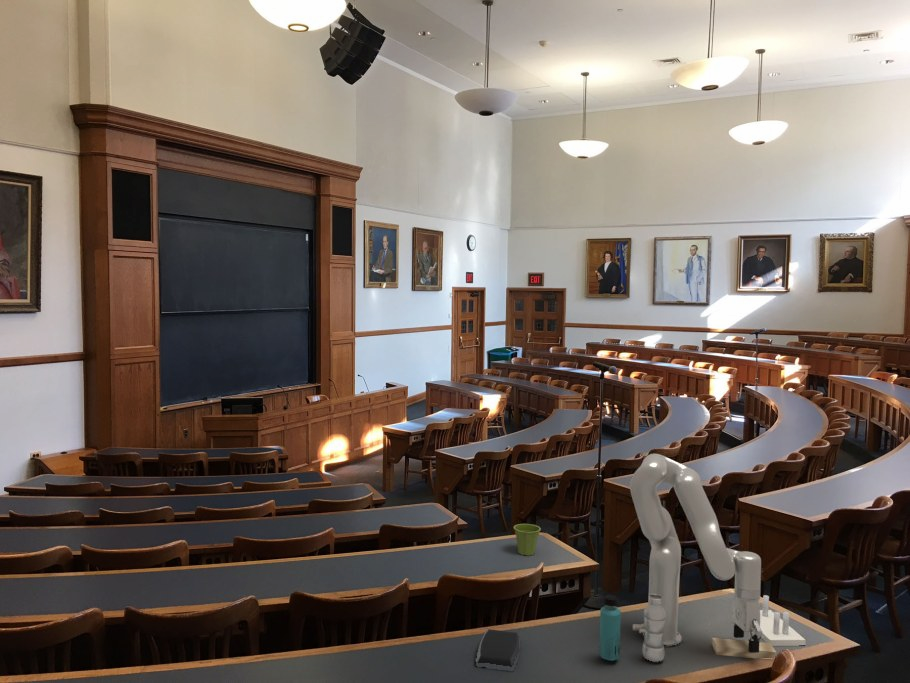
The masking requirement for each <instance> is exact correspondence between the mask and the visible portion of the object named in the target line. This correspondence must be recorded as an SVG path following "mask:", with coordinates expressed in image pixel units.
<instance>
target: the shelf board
mask: <svg viewBox="0 0 910 683" xmlns="http://www.w3.org/2000/svg"><path fill="white" fill-rule="evenodd" d="M711 647H712V648H713V651H714V653H715V656H716V655H717V656H727V657H737V658H748V659H757V658H773V659H774V657H775V656H776V657H777V651H776V650H775V648H774V646H772V645H771V643H766V642H765V641H764V642H763V641H759V652H758V653H750V652H749V651H748V647H749V640H741V639H730V638H719V637H711Z"/></svg>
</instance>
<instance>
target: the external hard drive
mask: <svg viewBox="0 0 910 683" xmlns="http://www.w3.org/2000/svg"><path fill="white" fill-rule="evenodd" d="M519 638H520V636H519V634H518V632H514V631H505V630H504V631H503V630H497V629H492V628H491V629H490V628H488V629H487V630H485V633H484V634H483V636H482V638H481V640H480V642H479V644H478V648H477V651H478V652H476V656H477V658H476V657H475V661H476V662H477V663H490V664H496V665H503V666H510V667H512V666H513V665H514V661H515V660H516V658H517V655H518V652H519Z"/></svg>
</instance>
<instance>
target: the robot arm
mask: <svg viewBox="0 0 910 683" xmlns="http://www.w3.org/2000/svg"><path fill="white" fill-rule="evenodd" d="M661 483H664V484H665V485H668V486H671V487H672V488H673V489H674V492H675V495H676V497H677V499H678V501H679V503H680V506H681V507H682V509H683V512H684V514H685V516H686V518H687V521H688V522H689V525H690V527H691V530H692V532H693V536H694V537H695V540H696V541H697V544H698V546H699V549H700V552H701V554H702V555H703V558H704V560H705V563H706V565H707V567H708V569H709V571H710V573H711V574H712V575H713V576H714V578H716V579H717V580H720V581H728V580H731V579H732V578H733V577H734V593H733V599H732V605H731V606H732V607H731V620H732V624H733V637H734V638H735V639H737V638H740V639H741V638H745V633H748V636H749V639H748V641H749V647H748V651H749V652H750V653H758V652H759V642H761V639H762V638H761V635H762V630H761V628H760V610H761V609H760V607H761V604H760V605H759V600H760V601H761V581H762V580H761V578H762V575H761V574H762V558H761V557H760V555H759V554H757V553H755V552H752V551H747V550H746V551H745V550H743V551H742V550H741V551H740V550H736V549H731V548H728V547H727V546H726V544H725V541H724V539H723V536H722V534H721V530H720V526H719V522H718V518H717V515H716V513H715V511H714V508H713V507H712V505H711V503H710V501H709V499H708V496H707V493H706V492H705V490H704V487H703V485H702V480H701V477H700V474H699V473H698V472H697V471H695V470H694V469H693V468H690V467H688V466H687V465H684V464H682V463H680V462H677V461H676V460H673V459H671V458H669V457H667V456H665V455H662V454H659V453H650V454H648V455H647V456H645V457H644V459H643V460H642V463H641V465H640V466H639V467H637V469H636V470H635V472H634V473H633V475H632V477H631V479H630V483H629V490H630V495H631V498H632V502H633V504H634V508H635V512H636V515H637V519H638V521H639V525H640V528H641V531H642V534H643V535H644V537H646V539H648V541H649V544H650V547H651V550H650V555H649V570H648V571H649V572H648V574H649V575H648V578H649V580H648V602H647V605H648V604H649V596H650V595H652V594H655V595H659V596H661V597H662V604H661V606H662V607H663V609H664V611H665V614H666V618H665V623H664V630H663V645H671V646H670V647H673V646H672V645H675V646H678V645H679V643H680V644H681V643H682V639H683V638H682V635H681V634H680V632H678V617H679V616H678V615H679V597H680V596H679V594H680V578H681V577H680V575H681V574H680V573H681V564H682V562H681V561H682V560H681V559H682V558H681V557H682V548H681V547H682V546H681V543H680V541H679V537H678V534H677V532H676V528H675V525H674V522H673V519H672V516H671V514H670V513H669V511H668V510H667V509H666V508H665V507H663V505H662V501H661V498H660V496H659V493H658V487H659V485H660V484H661ZM643 622H644V623H641V624H638V623H633V624H632V631H638V633H639V634H642V633H643V635H644V636H645V621H644V620H643ZM752 628H753V629H754V630H753V629H752ZM753 633H754V635H753ZM677 644H678V645H677Z"/></svg>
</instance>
